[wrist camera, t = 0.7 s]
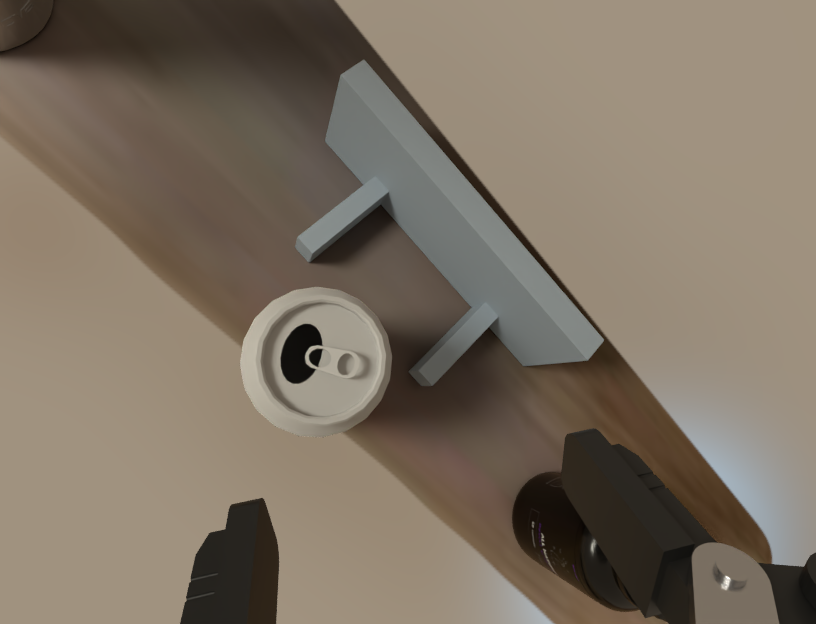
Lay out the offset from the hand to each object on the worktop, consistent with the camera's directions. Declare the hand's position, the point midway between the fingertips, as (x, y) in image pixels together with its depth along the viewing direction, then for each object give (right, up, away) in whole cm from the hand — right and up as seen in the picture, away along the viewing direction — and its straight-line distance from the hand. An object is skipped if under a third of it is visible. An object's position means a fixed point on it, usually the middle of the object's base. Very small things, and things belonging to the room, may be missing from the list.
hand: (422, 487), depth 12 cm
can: (-8, 0, +21) cm, 22 cm away
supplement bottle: (+11, -12, +24) cm, 29 cm away
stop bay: (0, +8, +24) cm, 25 cm away
